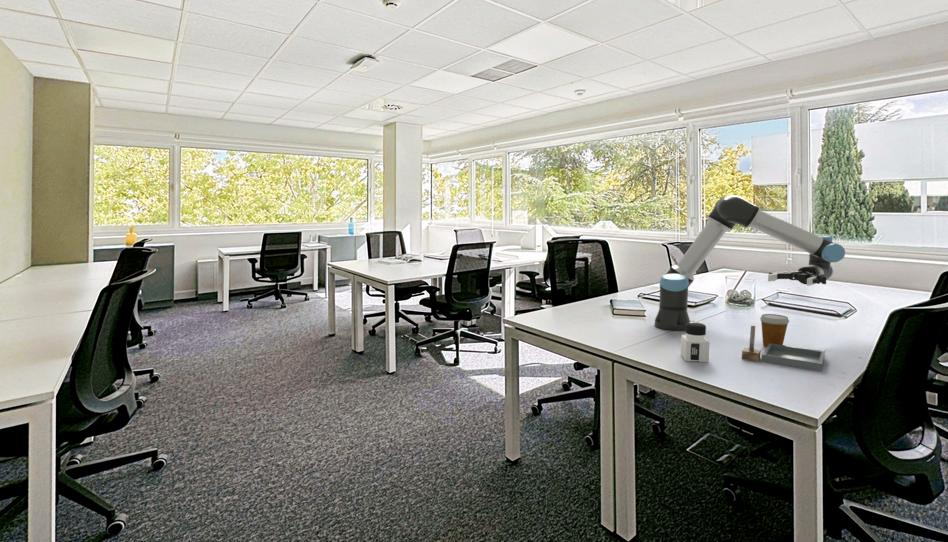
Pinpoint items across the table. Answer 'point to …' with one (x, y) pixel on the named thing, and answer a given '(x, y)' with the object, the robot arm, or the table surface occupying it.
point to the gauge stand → (751, 348)
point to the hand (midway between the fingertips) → (787, 280)
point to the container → (695, 343)
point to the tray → (794, 357)
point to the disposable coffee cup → (773, 328)
